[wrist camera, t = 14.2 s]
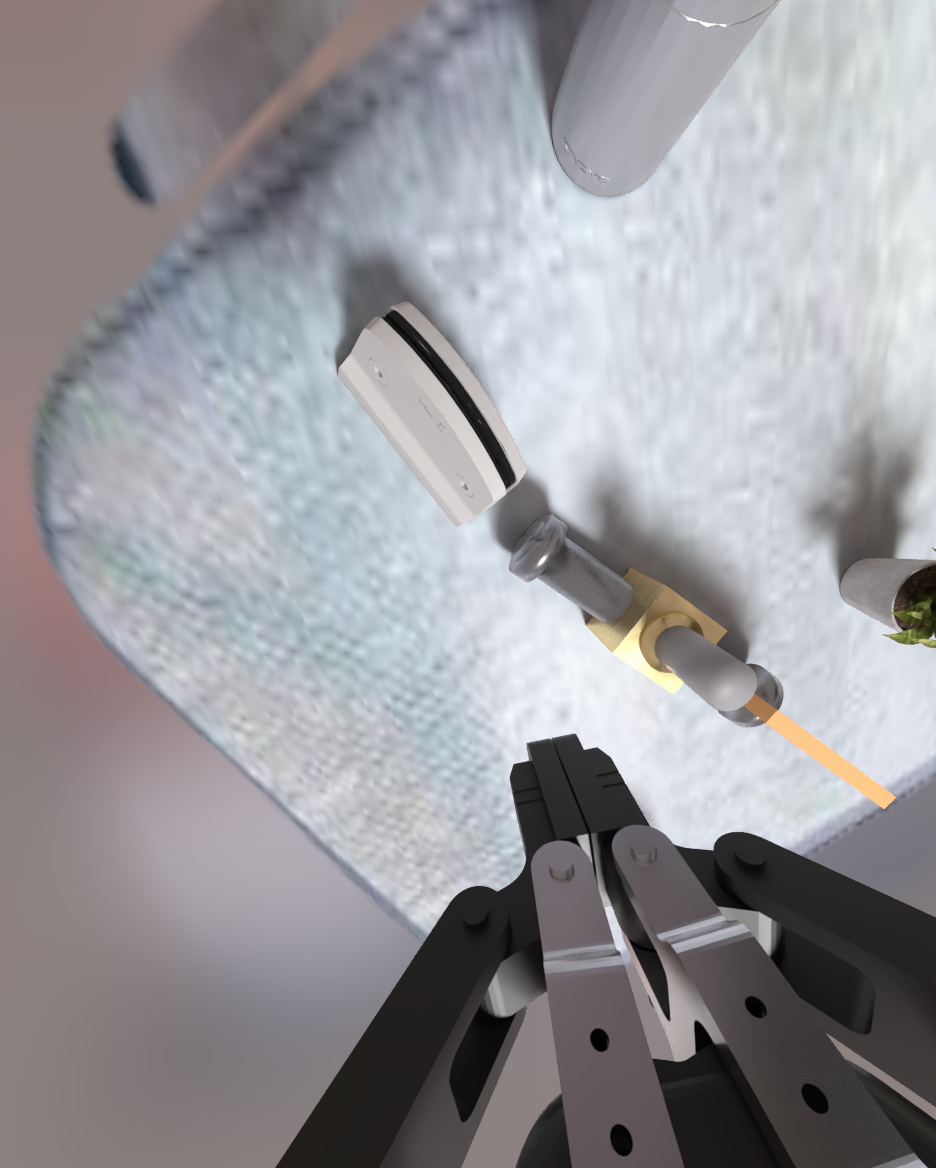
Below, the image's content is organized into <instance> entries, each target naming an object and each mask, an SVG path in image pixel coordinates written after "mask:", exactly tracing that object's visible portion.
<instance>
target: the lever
mask: <svg viewBox="0 0 936 1168" xmlns="http://www.w3.org/2000/svg"><path fill="white" fill-rule="evenodd" d="M655 655H656V657H657V659H658V660H659V661H660V662H661V663H662V664H663V665H664V666H666V667H667V668H668V669H669V670H670V671H671V672H672V673H674V674H675V675H676V676H677V677H678V678H679V679H681V680H682V681H683V682H684V683H685V684H686V685H687V686H689V687H690V688H691V689H692V690H693V691H694V692H696V693H697V694H698V695H699V696H700V697H701V698H703V699H704V700H705V701H706V702H707V703H708V704H709V705H711V706H712V707H713V708H715V709H717V710H720V711H733V710H736V709H739V708H741V707H742V706H744V707H745V708H747V709H748V710H749V711H750V712H752V713H753V714H754V715H756V716H757V717H758V718H759V719H761V720H762V721H763V722H765V723H766V724H767V725H769V726H770V727H771V728H773V729H774V730H776V731H777V732H778V733H780V734H781V735H783V736H784V737H785V738H787V739H788V740H789V741H791V742H792V743H794V744H795V745H796V746H798V747H799V748H800V749H802V750H803V751H805V752H806V753H807V754H809V755H810V756H812V757H813V758H814V759H816V760H817V761H818V762H820V763H821V764H823V765H824V766H825V767H827V768H828V769H830V770H831V771H832V772H834V773H835V774H836V775H838V776H839V777H841V778H842V779H843V780H845V781H846V782H847V783H849V784H850V785H852V786H853V787H854V788H856V789H857V790H859V791H860V792H861V793H863V794H864V795H865V796H867V797H868V798H870V799H871V800H872V801H874V802H875V803H877V804H878V805H879V806H881V807H882V808H883V809H885V808H886V807H887V806H888V805H889V804H890V803H891V802H892V801H893V800H894V799H895V798H896V797H895V796H893V795H892V794H891V793H889V792H888V791H887V790H885V789H884V788H883V787H881V786H880V785H879V784H877V783H876V782H875V781H873V780H872V779H870V778H869V777H868V776H866V775H865V774H864V773H862V772H861V771H860V770H858V769H857V768H856V767H854V766H853V765H851V764H850V763H849V762H847V761H846V760H845V759H843V758H842V757H841V756H839V755H838V754H837V753H835V752H834V751H833V750H831V749H830V748H828V747H827V746H826V745H824V744H823V743H822V742H820V741H819V740H818V739H816V738H815V737H814V736H812V735H811V734H809V733H808V732H807V731H805V730H804V729H803V728H801V727H800V726H799V725H797V724H796V723H795V722H793V721H792V720H791V719H789V718H788V717H786V716H785V715H784V714H782V713H781V712H780V711H778V710H777V709H776V708H774V707H773V706H771V705H770V704H768V703H767V702H766V701H764V700H763V699H761V698H760V697H759V696H757V695H756V694H754V693H755V691H756V688H757V677H756V674H755V672H754V670H753V669H752V668H751V667H750V666H748V665H747V664H745V663H744V662H742V661H740V660H739V659H737V658H736V657H734V656H733V655H731V654H729V653H728V652H726V651H725V650H723V649H722V648H720V647H718V646H717V645H715V644H714V643H712V642H710V641H709V640H707V639H706V638H704V637H703V636H701V635H699V634H698V633H696V632H695V631H693V630H691V629H690V628H688V627H686V626H682V625H676V626H672V627H669V628H667V629H666V630H664V631H663V632H662V633H661V634H660V635H659V637H658V638H657V640H656V643H655Z"/></svg>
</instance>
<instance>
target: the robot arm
mask: <svg viewBox="0 0 936 1168" xmlns="http://www.w3.org/2000/svg"><path fill="white" fill-rule="evenodd" d="M779 2H780V0H587V3H586V6H585V9H584V12H583V15H582V19H581V22H580V25H579V28H578V31H577V34H576V37H575V40H574V43H573V46H572V49H571V52H570V55H569V58H568V61H567V64H566V67H565V70H564V73H563V76H562V80H561V83H560V86H559V89H558V92H557V95H556V98H555V102H554V107H553V112H552V138H553V144H554V148H555V151H556V154H557V157H558V160H559V162H560V164H561V166H562V168H563V169H564V171H565V173H566V174H567V175H568V176H569V178H570V179H571V180H572V181H573V182H574V183H575V184H576V185H578V186H579V187H580V188H582V189H583V190H584V191H587V192H589V193H592V194H594V195H597V196H604V197H613V196H621V195H623V194H626V193H628V192H631V191H633V190H634V189H636V188H637V187H639V186H640V185H642V184H643V183H644V182H645V181H646V180H647V179H648V178H649V177H650V176H651V175H652V174H653V172H654V171H655V170H656V168H657V167H658V166H659V164H660V163H661V162H662V160H663V159H664V158H665V156H666V155H667V153H668V152H669V151H670V149H671V148H672V147H673V145H674V144H675V143H676V141H677V140H678V139H679V138H680V136H681V135H682V133H683V132H684V131H685V129H686V128H687V127H688V125H689V124H690V123H691V121H692V120H693V119H694V117H695V116H696V114H697V113H698V112H699V110H700V109H701V108H702V106H703V105H704V104H705V102H706V101H707V100H708V98H709V97H710V95H711V94H712V93H713V91H714V90H715V89H716V87H717V86H718V85H719V83H720V82H721V81H722V79H723V78H724V76H725V75H726V74H727V72H728V71H729V70H730V68H731V67H732V66H733V64H734V63H735V62H736V60H737V59H738V57H739V56H740V55H741V53H742V52H743V51H744V49H745V48H746V47H747V45H748V44H749V43H750V41H751V40H752V38H753V37H754V36H755V34H756V33H757V32H758V30H759V29H760V28H761V26H762V25H763V24H764V22H765V21H766V19H767V18H768V17H769V15H770V14H771V13H772V11H773V10H774V9H775V7H776V6H777V5H778V3H779ZM527 751H528V756H529V761H527V762H522V763H517V764H514V765H513V768H512V772H511V775H510V782H511V788H512V793H513V798H514V804H515V809H516V814H517V819H518V824H519V828H520V833H521V837H522V842H523V846H524V851H525V855H526V863H525V866H524V869H523V871H522V872H521V874H520V875H519V877H518V878H517V879H516V880H515V881H514V882H512V883H511V884H510V885H508V886H506V887H505V888H503V889H501V890H500V891H498V892H497V891H495V890H493V889H491V888H489V887H485V886H475V887H470V888H467V889H465V890H463V891H462V892H460V893H459V894H458V895H456V896H455V897H454V898H453V900H452V901H451V902H450V904H449V905H448V907H447V908H446V910H445V911H444V913H443V914H442V916H441V917H440V919H439V921H438V922H437V924H436V925H435V927H434V928H433V930H432V931H431V933H430V934H429V936H428V937H427V939H426V940H425V942H424V943H423V945H422V946H421V948H420V949H419V951H418V952H417V954H416V955H415V957H414V958H413V960H412V961H411V963H410V965H409V967H408V968H407V969H406V971H405V972H404V974H403V975H402V977H401V978H400V980H399V981H398V983H397V984H396V986H395V988H394V989H393V990H392V992H391V993H390V995H389V996H388V998H387V999H386V1001H385V1002H384V1004H383V1005H382V1007H381V1008H380V1010H379V1011H378V1013H377V1015H376V1016H375V1018H374V1019H373V1021H372V1022H371V1024H370V1025H369V1027H368V1028H367V1030H366V1031H365V1033H364V1034H363V1036H362V1037H361V1039H360V1040H359V1042H358V1043H357V1045H356V1046H355V1048H354V1049H353V1051H352V1052H351V1054H350V1055H349V1057H348V1059H347V1060H346V1062H345V1063H344V1065H343V1066H342V1068H341V1069H340V1071H339V1072H338V1074H337V1075H336V1077H335V1078H334V1080H333V1081H332V1083H331V1084H330V1086H329V1088H328V1089H327V1090H326V1092H325V1093H324V1095H323V1096H322V1098H321V1099H320V1101H319V1102H318V1104H317V1105H316V1107H315V1108H314V1110H313V1112H312V1113H311V1115H310V1116H309V1118H308V1119H307V1121H306V1122H305V1124H304V1125H303V1127H302V1128H301V1130H300V1131H299V1133H298V1134H297V1136H296V1137H295V1139H294V1140H293V1142H292V1143H291V1145H290V1146H289V1148H288V1149H287V1151H286V1153H285V1154H284V1155H283V1157H282V1159H281V1160H280V1162H279V1164H278V1165H277V1166H276V1168H461V1166H462V1164H463V1162H464V1160H465V1157H466V1155H467V1152H468V1150H469V1148H470V1145H471V1143H472V1141H473V1138H474V1136H475V1133H476V1131H477V1129H478V1127H479V1124H480V1122H481V1119H482V1117H483V1115H484V1112H485V1110H486V1107H487V1105H488V1103H489V1101H490V1098H491V1096H492V1093H493V1091H494V1089H495V1086H496V1084H497V1081H498V1079H499V1077H500V1075H501V1072H502V1070H503V1067H504V1065H505V1062H506V1060H507V1058H508V1056H509V1053H510V1051H511V1048H512V1046H513V1044H514V1041H515V1039H516V1036H517V1034H518V1032H519V1030H520V1027H521V1025H522V1022H523V1020H524V1017H525V1013H526V1008H527V1004H529V1003H530V1002H532V1001H533V1000H534V999H536V998H537V997H539V996H540V995H542V994H543V993H545V992H546V991H547V993H548V1000H549V1007H550V1014H551V1021H552V1028H553V1035H554V1043H555V1050H556V1057H557V1064H558V1071H559V1078H560V1086H561V1094H559V1095H558V1096H557V1097H556V1098H555V1099H554V1100H553V1101H552V1102H551V1103H550V1104H549V1105H548V1106H547V1108H546V1109H545V1110H544V1111H543V1112H542V1114H541V1115H540V1116H539V1118H538V1120H537V1121H536V1123H535V1124H534V1126H533V1128H532V1129H531V1131H530V1133H529V1135H528V1137H527V1139H526V1141H525V1144H524V1146H523V1148H522V1151H521V1153H520V1156H519V1159H518V1161H517V1164H516V1168H936V1120H935V1119H934V1118H932V1117H931V1116H929V1115H928V1114H927V1113H925V1112H924V1111H922V1110H921V1109H920V1108H918V1107H917V1106H916V1105H914V1104H913V1103H911V1102H910V1101H909V1100H907V1099H906V1098H904V1097H903V1096H902V1095H900V1094H899V1093H898V1092H896V1091H895V1090H893V1089H892V1088H890V1087H889V1086H888V1085H886V1084H885V1083H884V1082H882V1081H881V1080H879V1079H878V1078H877V1077H875V1076H874V1075H872V1074H871V1073H869V1072H867V1071H865V1070H864V1069H862V1068H861V1067H859V1066H857V1065H856V1064H854V1063H852V1062H850V1061H848V1060H846V1059H844V1057H843V1056H842V1055H841V1053H840V1052H839V1051H838V1049H837V1048H836V1046H835V1045H834V1044H833V1042H832V1041H831V1040H830V1038H829V1037H828V1036H827V1034H829V1035H830V1036H832V1037H833V1038H835V1039H836V1040H838V1041H839V1042H841V1043H842V1044H844V1045H845V1046H846V1047H848V1048H849V1049H851V1050H853V1051H854V1052H855V1053H857V1054H858V1055H860V1056H861V1057H863V1058H864V1059H866V1060H867V1061H869V1062H870V1063H872V1064H873V1065H874V1066H876V1067H877V1068H879V1069H880V1070H882V1071H883V1072H885V1073H886V1074H888V1075H889V1076H891V1077H892V1078H894V1079H895V1080H897V1081H898V1082H900V1083H901V1084H903V1085H904V1086H906V1087H907V1088H909V1089H910V1090H911V1091H913V1092H915V1093H916V1094H917V1095H919V1096H920V1097H922V1098H923V1099H925V1100H926V1101H928V1102H929V1103H931V1104H932V1105H934V1106H935V1107H936V917H934V916H931V915H929V914H927V913H924V912H923V911H920V910H918V909H916V908H914V907H912V906H910V905H907V904H905V903H903V902H901V901H899V900H896V899H894V898H892V897H890V896H888V895H885V894H883V893H881V892H879V891H877V890H875V889H872V888H870V887H868V886H866V885H864V884H861V883H859V882H857V881H855V880H853V879H851V878H848V877H846V876H844V875H842V874H839V873H837V872H835V871H833V870H831V869H829V868H827V867H824V866H822V865H820V864H818V863H816V862H813V861H811V860H809V859H807V858H805V857H803V856H800V855H798V854H796V853H794V852H792V851H789V850H787V849H785V848H783V847H781V846H779V845H776V844H774V843H772V842H770V841H768V840H765V839H763V838H761V837H759V836H756V835H753V834H749V833H744V832H731V833H727V834H725V835H722V836H721V837H720V838H718V840H717V841H716V842H715V845H714V851H713V850H702V849H691V848H684V847H680V846H677V845H674V844H673V843H672V842H671V841H670V839H669V838H668V837H667V836H666V835H665V834H663V833H662V832H660V831H659V830H657V829H655V828H652V827H650V825H649V824H648V822H647V820H646V819H645V817H644V815H643V813H642V812H641V810H640V808H639V806H638V805H637V803H636V801H635V799H634V797H633V796H632V794H631V792H630V790H629V789H628V787H627V785H626V784H625V782H624V780H623V778H622V776H621V775H620V773H619V772H618V769H617V768H616V766H615V764H614V762H613V761H612V759H611V757H609V756H608V755H607V754H605V753H604V752H603V751H601V750H600V749H599V748H592V749H587V750H584V749H583V747H582V745H581V743H580V741H579V739H578V737H577V735H576V734H570V735H565V736H560V737H555V738H552V739H550V738H549V739H545V740H540V741H535V742H530V743H527ZM608 906H612V908H613V910H614V913H615V915H616V918H617V920H618V923H619V925H620V927H621V931H622V937H623V940H624V942H625V945H626V947H627V949H628V951H629V953H630V956H631V958H632V960H633V962H634V964H635V966H636V968H637V970H638V973H639V975H640V977H641V979H642V981H643V984H644V986H645V988H646V990H647V992H648V995H649V997H650V999H651V1001H652V1003H653V1005H654V1008H655V1010H656V1012H657V1014H658V1016H659V1019H660V1021H661V1023H662V1025H663V1027H664V1029H665V1032H666V1034H667V1037H668V1040H669V1043H670V1046H671V1049H672V1053H673V1056H674V1060H675V1061H668V1060H659V1059H652V1057H651V1053H650V1050H649V1046H648V1043H647V1039H646V1036H645V1033H644V1029H643V1026H642V1023H641V1019H640V1016H639V1012H638V1009H637V1006H636V1002H635V999H634V996H633V992H632V989H631V985H630V982H629V979H628V975H627V972H626V968H625V965H624V962H623V959H622V956H621V954H620V952H619V951H617V949H616V947H615V944H614V940H613V937H612V933H611V930H610V926H609V923H608V919H607V916H606V913H605V909H604V907H608ZM825 1032H826V1033H827V1034H826V1033H825Z"/></svg>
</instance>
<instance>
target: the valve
mask: <svg viewBox="0 0 936 1168" xmlns="http://www.w3.org/2000/svg"><path fill="white" fill-rule="evenodd" d="M567 531H568V527H567V525H566V524H564V523H563V522H562V521H560V520H559V519H558V518H556V517H555V516H553V515H552V514H550V513H549V514H546V515H545V516H543V517H542V518H540V519H538V520H537V521H535V522H534V523H533V524H532V525H531V526H530V527H529V528H528V529H527V530H526V531H525V533H524V534H523V535H522V537H521V538H520V540H519V541H518V543H517V544H516V546H515V548H514V550H513V553H512V556H511V561H510V564H509V570H510V571H511V572H512V573H514V574H515V575H516V576H518V577H519V578H521V579H522V580H524V581H525V582H529V581H532V580H534V579H535V578H536V577H537V578H538V579H540V580H541V581H543V582H544V583H546V584H547V585H549V586H550V587H551V588H553V589H554V590H556V591H557V592H559V593H560V594H562V595H563V596H565V597H566V598H568V599H569V600H570V601H572V602H573V603H575V604H576V605H578V606H579V607H581V608H582V609H584V610H585V611H587V612H588V613H589V614H591V615H592V618H591V619H590V620H589V622H588V623H587V624H586V626H587V627H588V628H589V629H590V630H591V631H592V632H593V633H594V634H595V635H596V636H597V637H598V638H599V639H600V641H601V642H602V643H603V644H604V645H605V646H606V647H607V648H608V649H609V650H610V651H611V652H612V653H613V654H614V655H616V656H617V657H619V658H620V659H622V660H623V661H625V662H626V663H628V664H629V665H631V666H632V667H634V668H635V669H637V670H638V671H640V672H641V673H643V674H644V675H646V676H647V677H649V678H650V679H652V680H653V681H655V682H656V683H658V684H659V685H661V686H662V687H664V688H665V689H667V690H668V691H669V692H671V693H672V694H675V693H676V691H677V690H678V689H679V688H680V687H681V685H682V684H683V683H684V682H683V681H682V680H681V679H679V678H678V677H677V676H676V675H675V674H674V673H672V672H671V671H670V670H669V669H668V668H667V667H666V666H664V665H663V664H662V663H661V662H660V661H659V660H658V659H657V657H656V655H655V643H656V640H657V638H658V637H659V635H660V634H661V633H662V632H663V631H664V630H666V629H667V628H669V627H672V626H676V625H682V626H686V627H688V628H690V629H691V630H693V631H695V632H696V633H698V634H699V635H701V636H703V637H704V638H706V639H707V640H709V641H710V642H712V643H714V644H715V645H716V644H717V643H718V642H719V641H720V639H721V638H722V637H723V636H724V635H725V633H726V632H727V630H726V629H725V628H723V627H722V626H721V625H719V624H718V623H717V622H715V621H714V620H712V619H711V618H710V617H708V616H707V615H706V614H704V613H703V612H702V611H700V610H699V609H697V608H696V607H695V606H693V605H692V604H691V603H689V602H688V601H687V600H685V599H684V598H683V597H681V596H680V595H678V594H677V593H676V592H674V591H673V590H672V589H670V588H669V587H668V586H666V585H664V584H662V583H660V582H658V581H656V580H654V579H652V578H650V577H648V576H646V575H644V574H642V573H640V572H639V571H637V570H635V569H633V568H631V567H630V569H629V570H628V571H627V573H626V574H625V575H624V576H623V577H621V576H620V575H618V574H617V573H616V572H614V571H613V570H611V569H610V568H609V567H607V566H606V565H604V564H603V563H602V562H600V561H599V560H598V559H596V558H595V557H593V556H592V555H591V554H589V553H588V552H586V551H585V550H584V549H582V548H581V547H579V546H578V545H577V544H575V543H574V542H573V541H571V540H570V539H568V538H567V537H566V536H567ZM747 665H748V666H750V667H751V668H752V669H753V670H754V672H755V674H756V677H757V688H756V691H755V693H754V694H756V695H757V696H759V697H760V698H761V699H763V700H764V701H766V702H767V703H768V704H770V705H771V706H773V707H774V708H776V709H777V710H779V708H780V706H781V704H782V701H783V687H782V685H781V683H780V681H779V680H778V679H777V678H776V677H775V676H774V675H772V674H771V673H770V672H768V671H767V670H765V669H764V668H763V667H761V666H759V665H756V664H747ZM718 712H719V713H720V714H721V715H723V716H724V717H726V718H727V719H729V720H730V721H732V722H733V723H734V724H736V725H738V726H741V727H755V726H759V725H761V724H763V723H765V722H763V721H762V720H761V719H759V718H758V717H757V716H756V715H754V714H753V713H752V712H750V711H749V710H748V709H747V708H745V707H744V706H742V707H741V708H739V709H736V710H733V711H720V710H718Z"/></svg>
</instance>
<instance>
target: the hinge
mask: <svg viewBox="0 0 936 1168" xmlns="http://www.w3.org/2000/svg"><path fill="white" fill-rule="evenodd" d="M338 377H339V378H340V380H341V381H342V382H343V383H344V385H345V386H346V387H347V388H348V390H349V391H350V392H351V394H352V395H353V396H354V397H355V399H356V400H357V401H358V403H359V404H360V405H361V406H362V408H363V409H364V410H365V411H366V413H367V414H368V415H369V417H370V418H371V419H372V420H373V422H374V423H375V424H376V426H377V427H378V428H379V429H380V431H381V432H382V433H383V434H384V436H385V437H386V438H387V440H388V441H389V442H390V443H391V445H392V446H393V447H394V449H395V450H396V451H397V452H398V454H399V455H400V456H401V457H402V459H403V460H404V461H405V463H406V464H407V465H408V466H409V468H410V469H411V470H412V472H413V473H414V474H415V475H416V477H417V478H418V479H419V480H420V482H421V483H422V484H423V486H424V487H425V488H426V489H427V491H428V492H429V493H430V495H431V496H432V497H433V498H434V500H435V501H436V502H437V503H438V505H439V506H440V507H441V509H442V510H443V511H444V512H445V514H446V515H447V516H448V518H449V519H450V520H451V521H452V523H453V524H454V525H455V526H456V527H458V526H461V525H463V524H465V523H466V522H468V521H470V520H472V519H473V518H475V517H477V516H479V515H480V514H482V513H483V512H485V511H486V510H487V509H488V508H490V507H491V506H492V505H494V504H495V503H496V502H497V501H499V500H500V499H501V498H502V497H504V496H505V494H506V493H508V492H509V491H510V490H511V489H513V488H514V487H515V486H516V485H518V483H519V482H520V480H521V479H522V478H523V476H524V475H525V473H526V465H525V463H524V461H523V458H522V456H521V454H520V452H519V450H518V448H517V446H516V444H515V442H514V440H513V438H512V436H511V434H510V432H509V430H508V429H507V427H506V425H505V423H504V421H503V420H502V418H501V416H500V414H499V413H498V411H497V409H496V408H495V406H494V404H493V403H492V401H491V400H490V398H489V397H488V395H487V394H486V392H485V391H484V389H483V388H482V386H481V385H480V383H479V382H478V380H477V379H476V377H475V376H474V375H473V373H472V372H471V371H470V369H469V368H468V366H467V365H466V364H465V362H464V361H463V360H462V359H461V357H460V356H459V355H458V354H457V353H456V351H455V350H454V349H453V348H452V346H451V345H450V344H449V343H448V341H447V340H446V339H445V338H444V337H443V336H442V335H441V333H440V332H439V331H438V330H437V329H436V328H435V327H434V326H433V325H432V324H431V323H430V322H429V320H428V319H427V318H426V317H425V316H424V315H423V314H422V313H421V312H420V311H419V310H417V309H416V308H415V307H414V306H413V305H412V304H411V303H409V302H407V301H405V302H402V303H399V304H396V305H393V306H390V307H389V308H388V310H387V312H386V314H385V315H384V317H382V318H380V317H378V316H376V317H374V318H373V319H372V320H371V321H370V322H369V324H368V325H367V326H366V327H365V328H364V329H363V331H362V332H361V334H360V336H359V338H358V340H357V342H356V344H355V346H354V348H353V350H352V351H351V353H350V355H349V356H348V357H347V358H346V360H345V361H344V362H343V363H342V364H341V366H340V367H339V370H338Z"/></svg>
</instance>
